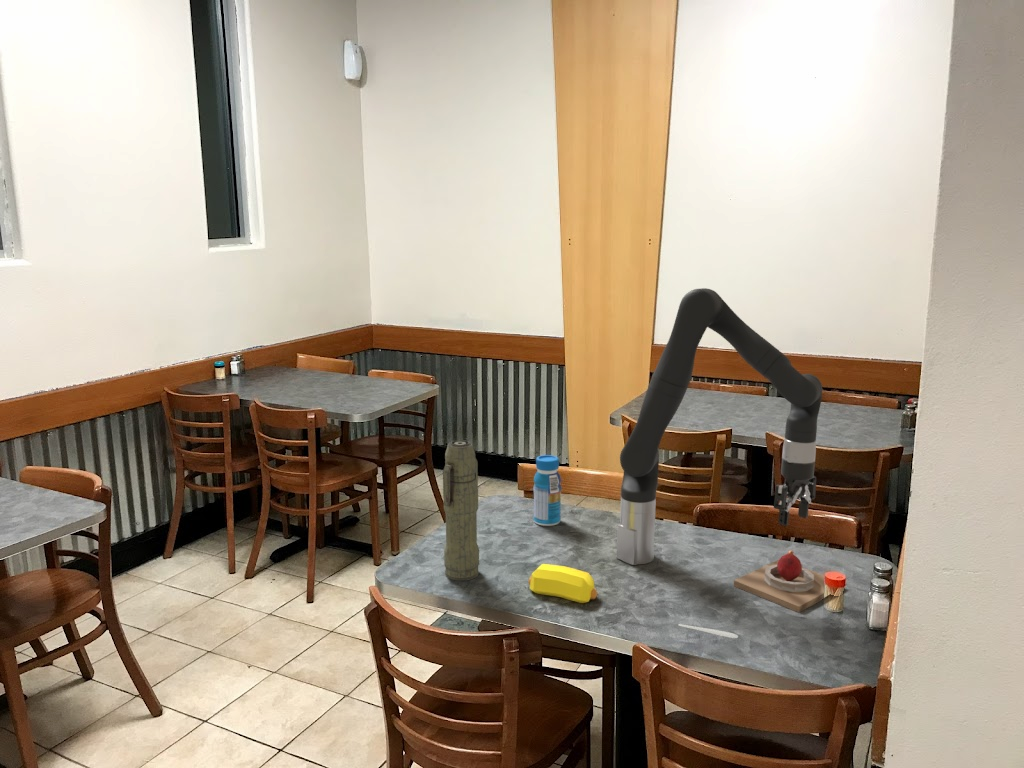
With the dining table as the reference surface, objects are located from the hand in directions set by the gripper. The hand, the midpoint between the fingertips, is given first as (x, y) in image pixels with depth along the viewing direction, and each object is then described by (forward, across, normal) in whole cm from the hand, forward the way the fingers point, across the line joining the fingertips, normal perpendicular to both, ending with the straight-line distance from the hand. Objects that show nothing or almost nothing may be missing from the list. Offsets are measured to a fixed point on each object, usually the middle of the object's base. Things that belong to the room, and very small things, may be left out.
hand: (793, 521), depth 199 cm
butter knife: (+18, +36, -5) cm, 41 cm away
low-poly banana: (+18, +46, -33) cm, 59 cm away
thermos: (+18, +58, -58) cm, 84 cm away
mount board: (+17, 0, 0) cm, 17 cm away
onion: (+16, 0, 0) cm, 16 cm away
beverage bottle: (+18, +17, -71) cm, 75 cm away
